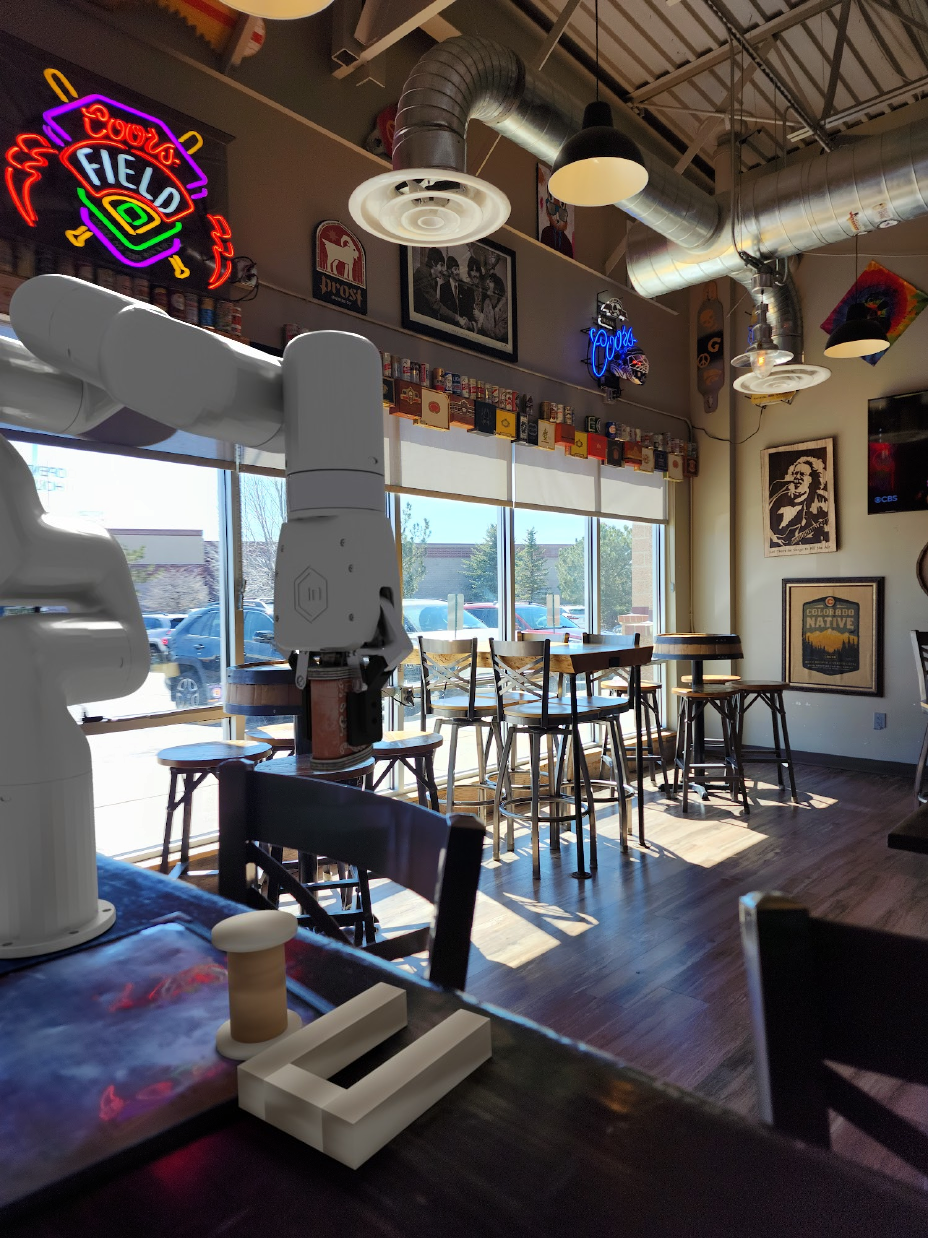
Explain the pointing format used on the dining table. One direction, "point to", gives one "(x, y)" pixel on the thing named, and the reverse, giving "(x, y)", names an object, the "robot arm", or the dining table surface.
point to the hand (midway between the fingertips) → (342, 738)
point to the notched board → (380, 1102)
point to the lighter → (332, 716)
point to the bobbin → (255, 982)
